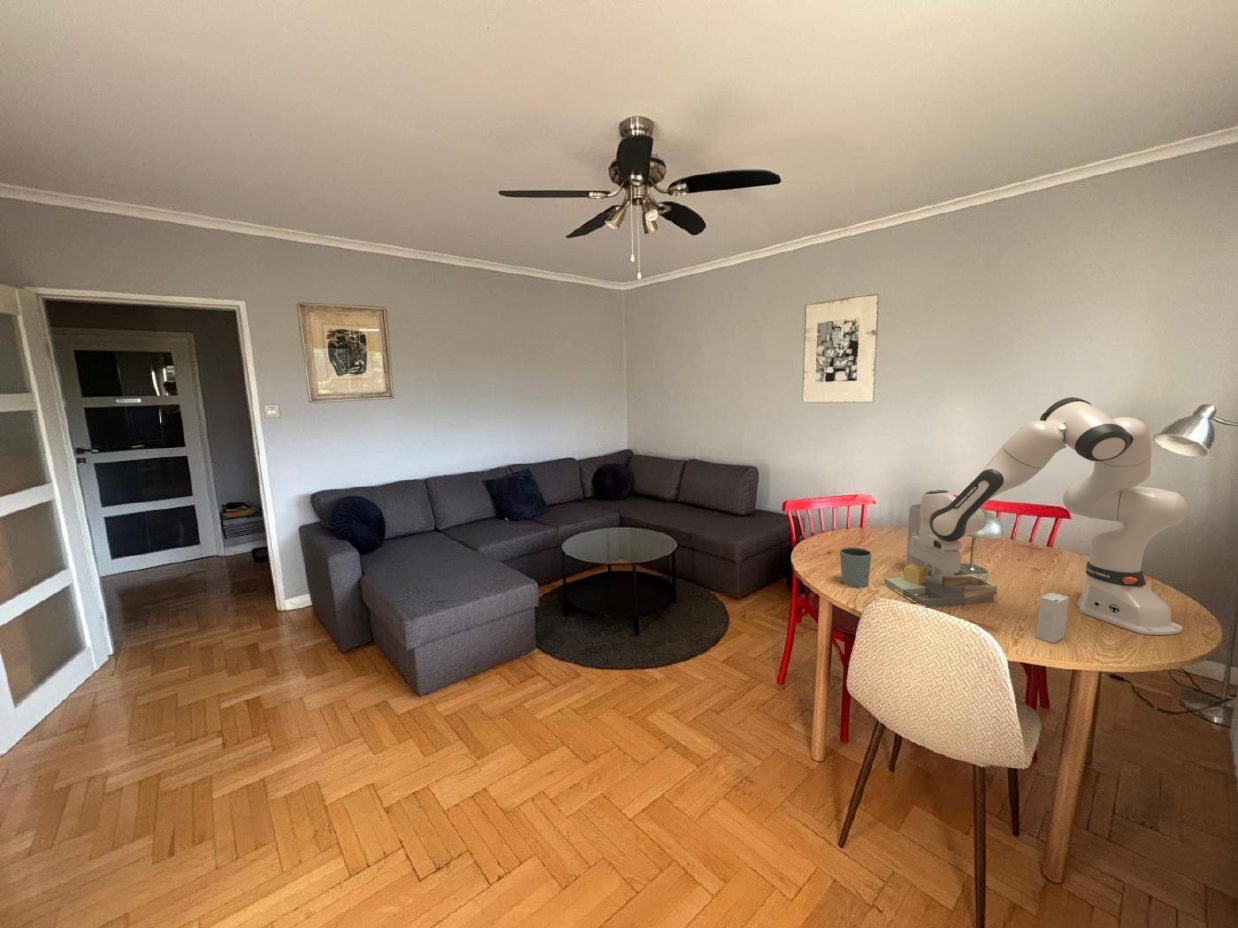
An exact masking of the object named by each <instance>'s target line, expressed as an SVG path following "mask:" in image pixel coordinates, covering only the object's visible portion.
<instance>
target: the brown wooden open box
mask: <svg viewBox="0 0 1238 928" xmlns="http://www.w3.org/2000/svg"><path fill="white" fill-rule="evenodd" d="M971 584H972V585H974V586H963V587H962V593H961V596H963V597H965V601H966V600H967V599H969V598H970V599H971V600H967V601H966V602H967V604H966V602H965V604H964V605H972V604H973V603H974V604H975V605H977V604H987V603H988V604H989V603H997V598H998V585H996V584H994V583H991V582H989V581H988V580H985V579H983V578H980V577H978V576H976V575H975V574H970V573H968V574H958V575H957V574H954V575H953V576H943V578H942V585H944V586H957V585H971ZM979 596H980V597H979ZM984 596H985V597H984ZM988 596H989V597H988ZM991 596H992V597H991ZM974 597H975V598H974ZM977 598H978V599H979V600H978V599H977ZM982 598H983V600H982ZM985 598H986V599H987V598H989V600H988V599H987V600H988V601H989V602H988V601H987V600H985ZM995 598H996V599H995ZM974 599H976V600H975V601H976V602H973V601H974ZM980 599H981V601H982V602H981V601H980ZM990 599H991V600H990ZM993 599H994V600H993ZM972 600H973V601H972ZM992 600H993V601H992ZM985 602H986V603H985Z"/></svg>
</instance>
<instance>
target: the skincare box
mask: <svg viewBox="0 0 1238 928" xmlns="http://www.w3.org/2000/svg"><path fill="white" fill-rule="evenodd" d="M1069 602H1070V597H1069V596H1068V595H1067V596H1066V595H1063V594H1059V593H1054V592H1048V593H1047V594H1045V595H1042V596H1040V602H1039V607H1038V609H1039V611H1038V616H1037V624H1036V625H1037V626H1036V635H1035V637H1036V638H1038V639H1040V640H1043V641H1046V642H1049V643H1051V644H1052V643H1053V644H1055V643H1056V642H1058V641H1060V640H1062V639H1064V638H1065V634H1066V626H1067V625H1066V624H1067V618H1068V617H1067V616H1068V610H1069Z"/></svg>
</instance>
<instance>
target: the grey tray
mask: <svg viewBox="0 0 1238 928" xmlns="http://www.w3.org/2000/svg"><path fill="white" fill-rule="evenodd" d="M953 575H955V574H948V573H945V574H940V575H938V577H937V578H932V577H930V576H928V575H927V579H926V582H924V583H922V584H919V585H917V584H914V583H911V582H908V581H904V576H902V577H886V578H884V584H886V585H887V586H889V587H890V588H889V587H888V588H889V589H891V588H892V589H895V590H897V591H898V592H900V593H902V594H903V595H904V596H906V597H909V598H911V599H912V600H913V601H916V602H915V603H918V604H921V605H925V606H927V607H926V608H934V607H933V606H937V608H938V607H949V606H961V605H962V606H963V605H968V604H967V602H966V601H967V600H971V599H970V598H969V599H967V600H966V601H965V597H963V596H961V593H962V587H963V586H974V585H972V584H971V585H957V586H944V585H942V578H943V576H953ZM886 585H885V586H886ZM887 586H886V587H887ZM892 589H891V590H892ZM915 594H926V596H927V595H928V597H929V598H922V597H920V595H915ZM904 596H903V597H904ZM931 597H932V598H931ZM979 597H980V596H979ZM984 597H985V596H984ZM988 597H989V596H988ZM991 597H992V596H991ZM974 598H975V597H974ZM977 599H978V598H977ZM987 599H988V600H989V598H987ZM987 599H986V598H985V600H987ZM995 599H996V598H995ZM975 600H976V599H974V601H973V600H972V601H973V602H976V601H975ZM978 600H979V599H978ZM982 600H983V598H982ZM988 600H987V601H988ZM990 600H991V599H990ZM993 600H994V599H993ZM993 600H992V601H993ZM996 600H997V599H996ZM980 601H981V599H980ZM965 602H966V604H965ZM981 602H982V601H981ZM988 602H989V601H988ZM915 603H914V604H915ZM973 604H974V603H973ZM984 604H987V603H986V602H985V603H984Z"/></svg>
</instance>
